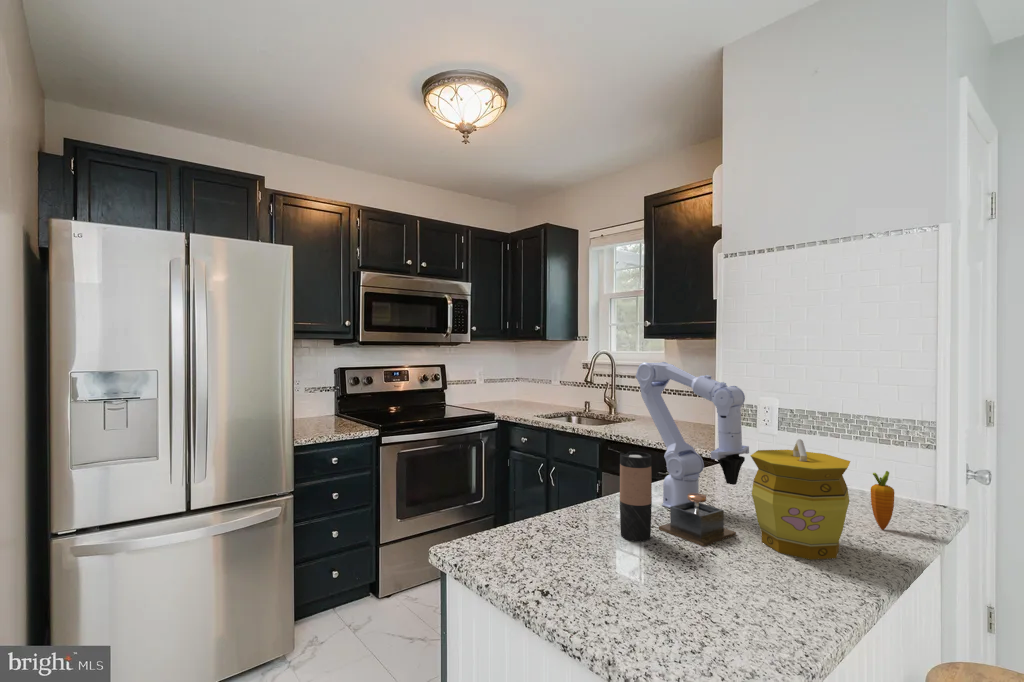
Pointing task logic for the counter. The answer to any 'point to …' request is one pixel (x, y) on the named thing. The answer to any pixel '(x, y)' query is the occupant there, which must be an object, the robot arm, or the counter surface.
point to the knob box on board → (697, 524)
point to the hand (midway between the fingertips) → (731, 483)
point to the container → (800, 501)
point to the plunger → (697, 503)
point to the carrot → (882, 501)
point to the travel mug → (635, 496)
